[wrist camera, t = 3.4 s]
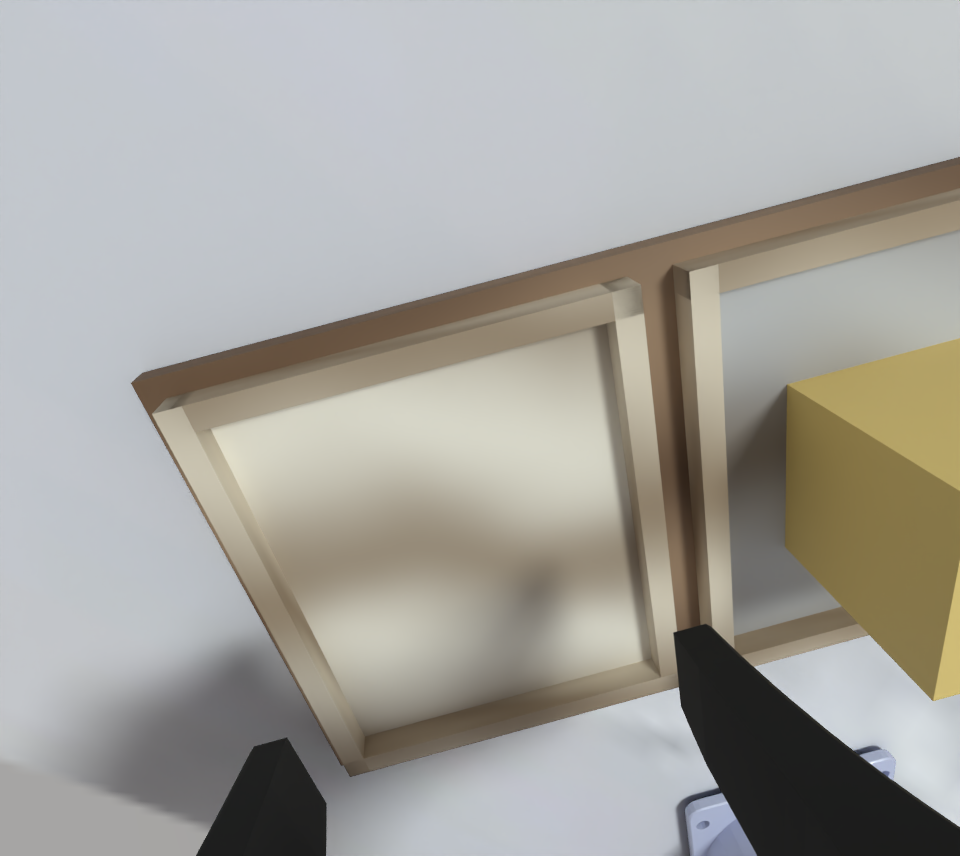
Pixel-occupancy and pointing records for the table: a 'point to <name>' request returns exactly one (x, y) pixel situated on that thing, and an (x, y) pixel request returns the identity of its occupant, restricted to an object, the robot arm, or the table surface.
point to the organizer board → (551, 465)
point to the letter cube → (884, 502)
